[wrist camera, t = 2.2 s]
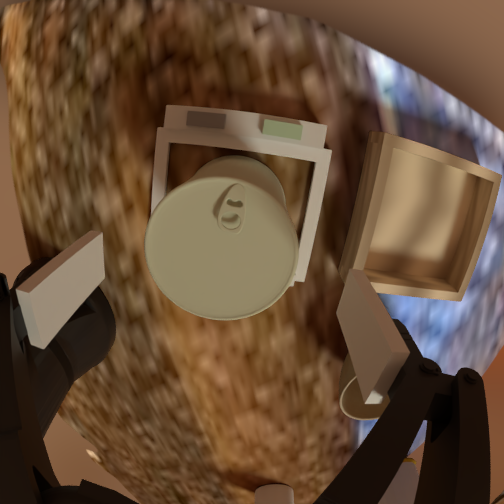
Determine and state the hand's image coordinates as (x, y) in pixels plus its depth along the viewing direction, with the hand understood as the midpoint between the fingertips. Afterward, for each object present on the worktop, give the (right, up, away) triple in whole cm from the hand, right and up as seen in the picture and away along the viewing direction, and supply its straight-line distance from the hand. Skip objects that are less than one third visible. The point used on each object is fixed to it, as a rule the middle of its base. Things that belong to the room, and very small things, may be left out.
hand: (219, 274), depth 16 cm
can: (0, +5, +13) cm, 14 cm away
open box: (+18, +5, +13) cm, 22 cm away
